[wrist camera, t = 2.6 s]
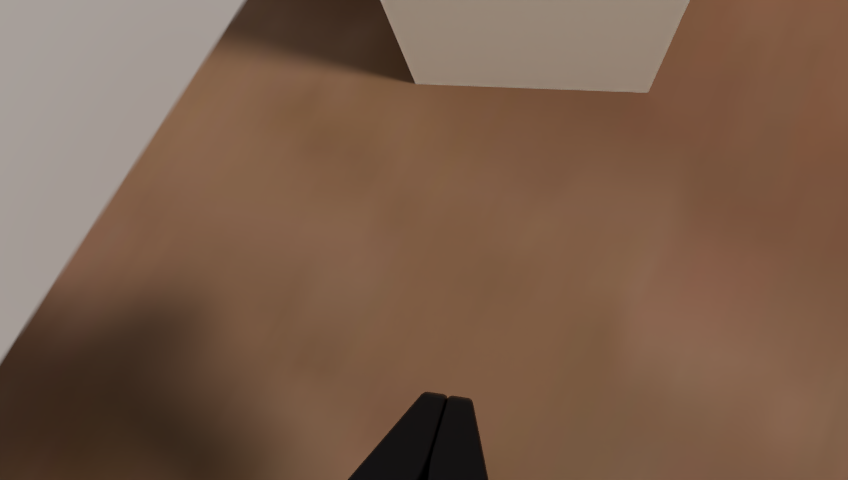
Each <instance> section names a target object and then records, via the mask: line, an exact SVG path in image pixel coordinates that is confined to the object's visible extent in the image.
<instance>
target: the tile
mask: <svg viewBox="0 0 848 480" xmlns="http://www.w3.org/2000/svg"><path fill="white" fill-rule="evenodd" d="M380 1H381V3H382V6H383V8H384V11H385V13H386V15H387V18H388V20H389V22H390V25H391V27H392V29H393V32H394V34H395V37H396V39H397V41H398V44H399V46H400V48H401V51H402V53H403V55H404V58H405V60H406V62H407V65H408V67H409V70H410V72H411V74H412V77H413V79H414V81H415V84H431V85H457V86H484V87H510V88H537V89H563V90H590V91H616V92H643V93H648V91H649V89H650V87H651V85H652V83H653V80H654V78H655V76H656V74H657V72H658V69H659V67H660V65H661V63H662V60H663V58H664V56H665V54H666V52H667V49H668V47H669V45H670V43H671V41H672V38H673V36H674V34H675V32H676V29H677V27H678V25H679V23H680V21H681V18H682V16H683V14H684V12H685V9H686V7H687V5H688V3H689V1H690V0H380Z"/></svg>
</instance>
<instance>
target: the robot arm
mask: <svg viewBox="0 0 848 480" xmlns="http://www.w3.org/2000/svg"><path fill="white" fill-rule="evenodd" d="M348 480H488V475H487V470H486V465H485V460H484V455H483V450H482V446H481V441H480V436H479V431H478V426H477V421H476V416H475V411H474V406H473V402H472V400H471V399H469V398H464V397H458V396H450V397H448V398H447V396H446V395H444V394H439V393H432V392H425V393H423V394H422V395H421V396H420V397H419V398H418V399H417V400H416V401H415V402H414V404H413V405H412V406H411V407H410V408H409V409H408V411H407V412H406V413H405V414H404V415H403V416H402V417H401V419H400V420H399V421H398V422H397V423H396V424H395V426H394V427H393V428H392V429H391V430H390V431H389V433H388V434H387V435H386V436H385V437H384V438H383V439H382V441H381V442H380V443H379V444H378V445H377V446H376V448H375V449H374V450H373V451H372V452H371V453H370V454H369V456H368V457H367V458H366V459H365V460H364V461H363V463H362V464H361V465H360V466H359V467H358V468H357V470H356V471H355V472H354V473H353V474H352V475H351V476H350V478H349V479H348Z"/></svg>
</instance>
